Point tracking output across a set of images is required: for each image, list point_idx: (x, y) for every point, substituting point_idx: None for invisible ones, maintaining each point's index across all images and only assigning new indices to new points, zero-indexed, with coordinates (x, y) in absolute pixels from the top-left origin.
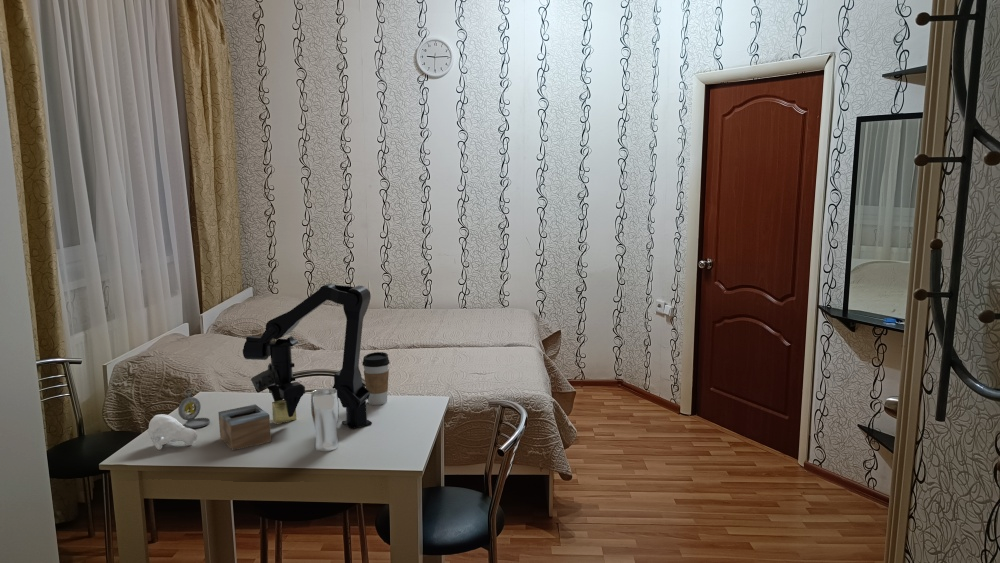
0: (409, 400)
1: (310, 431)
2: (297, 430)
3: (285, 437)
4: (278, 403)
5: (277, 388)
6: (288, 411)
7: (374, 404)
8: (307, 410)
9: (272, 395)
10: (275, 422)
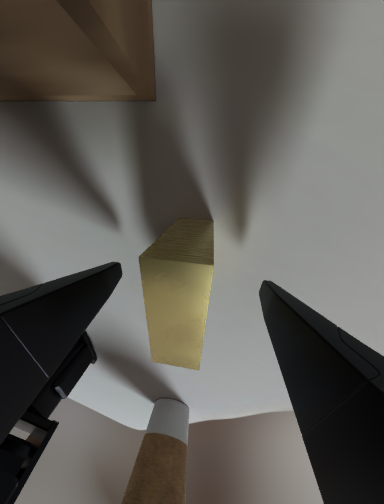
0: (148, 418)
1: (55, 263)
2: (77, 242)
3: (19, 178)
4: (143, 282)
5: (373, 475)
6: (80, 272)
7: (159, 400)
8: (232, 337)
9: (357, 344)
10: (187, 220)
